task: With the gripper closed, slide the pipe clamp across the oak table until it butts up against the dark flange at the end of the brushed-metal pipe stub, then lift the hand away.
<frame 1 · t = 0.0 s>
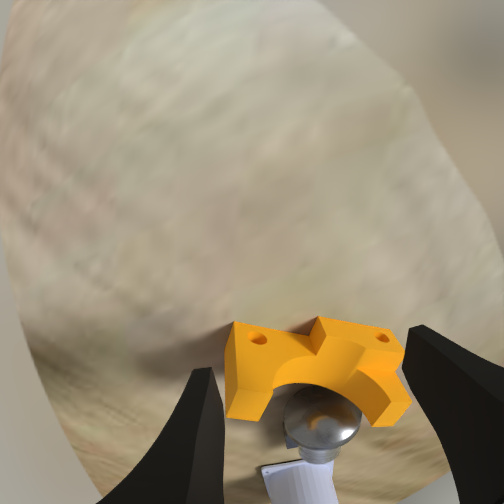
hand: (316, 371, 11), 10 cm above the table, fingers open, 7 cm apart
pipe fixture: (315, 414, 26), on the table
pipe clamp: (311, 338, 23), on the table
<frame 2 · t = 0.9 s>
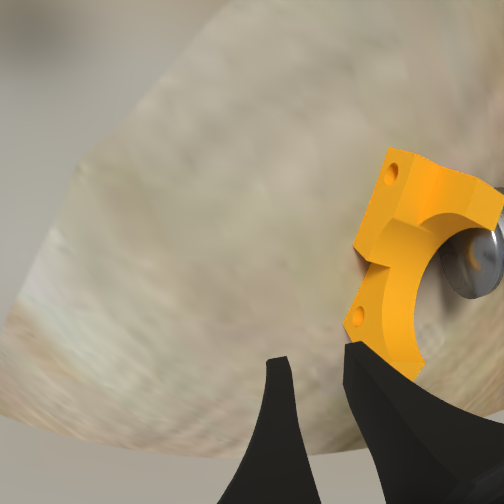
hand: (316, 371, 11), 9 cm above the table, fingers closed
pipe fixture: (477, 228, 20), on the table
pipe clamp: (381, 245, 20), on the table
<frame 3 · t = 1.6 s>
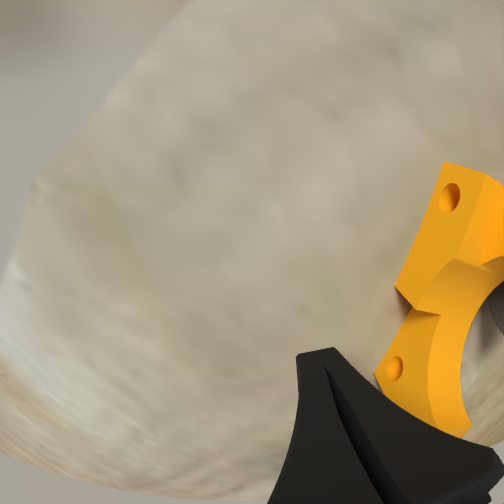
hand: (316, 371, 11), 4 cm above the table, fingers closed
pipe clamp: (425, 282, 15), on the table
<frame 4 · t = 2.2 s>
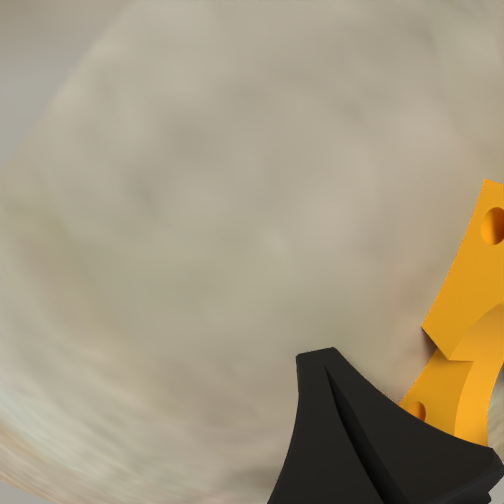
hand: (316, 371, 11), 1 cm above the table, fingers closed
pipe clamp: (454, 318, 12), on the table
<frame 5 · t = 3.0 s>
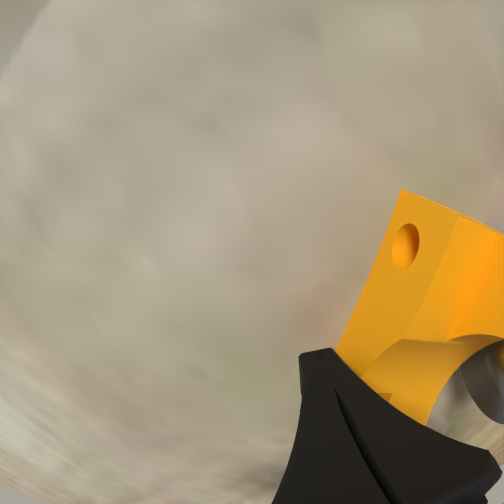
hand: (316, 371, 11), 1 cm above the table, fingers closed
pipe clamp: (381, 341, 12), on the table, touching gripper, pipe fixture
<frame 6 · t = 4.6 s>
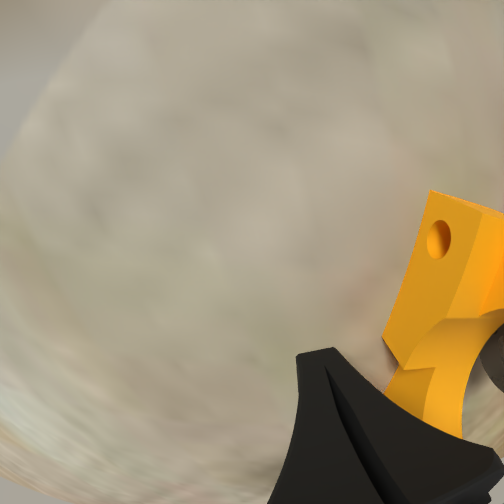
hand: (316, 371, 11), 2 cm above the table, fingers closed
pipe clamp: (419, 323, 13), on the table
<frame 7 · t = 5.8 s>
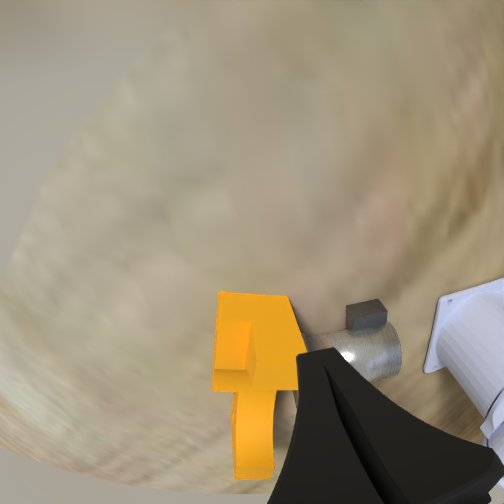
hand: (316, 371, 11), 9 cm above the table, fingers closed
pipe fixture: (341, 340, 22), on the table
pipe clamp: (242, 362, 23), on the table
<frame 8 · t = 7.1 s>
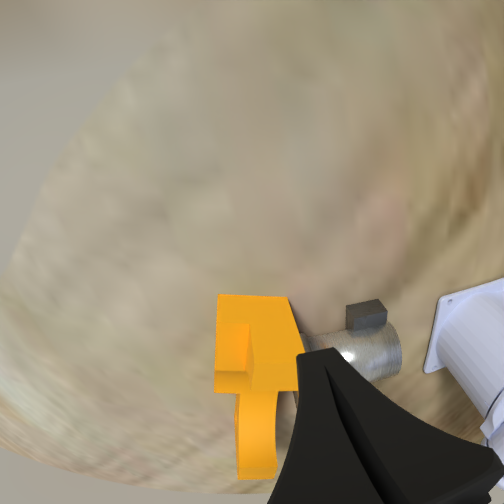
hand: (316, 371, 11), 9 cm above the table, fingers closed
pipe fixture: (341, 340, 22), on the table
pipe clamp: (244, 363, 23), on the table
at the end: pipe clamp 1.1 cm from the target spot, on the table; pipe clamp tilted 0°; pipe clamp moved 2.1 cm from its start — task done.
